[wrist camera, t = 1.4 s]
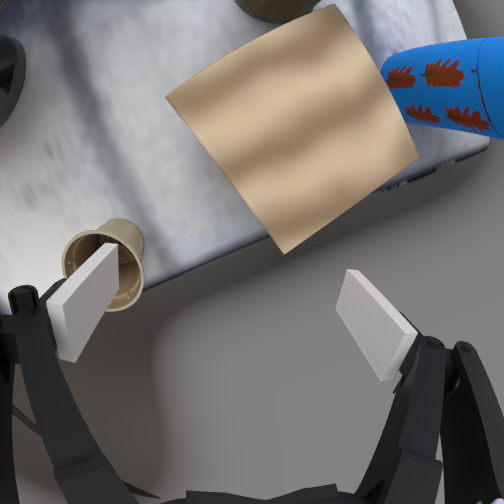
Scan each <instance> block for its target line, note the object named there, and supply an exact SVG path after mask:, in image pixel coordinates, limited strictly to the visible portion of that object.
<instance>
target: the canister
mask: <svg viewBox="0 0 504 504" xmlns="http://www.w3.org/2000/svg"><path fill="white" fill-rule="evenodd" d="M320 1H321V0H236V2H237V4H238V5H239V6H240V7H241V8H242V9H243V10H244V11H246V12H247V13H249V14H250V15H252V16H253V17H255V18H258V19H260V20H263V21H267V22H273V23H288V22H291V21H293V20H295V19H297V18H300V17H302V16H304V15H307V14H309V13H310V12H311V11H312V9H313V8H314V6H315V5H316V4H317V3H318V2H320Z"/></svg>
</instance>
